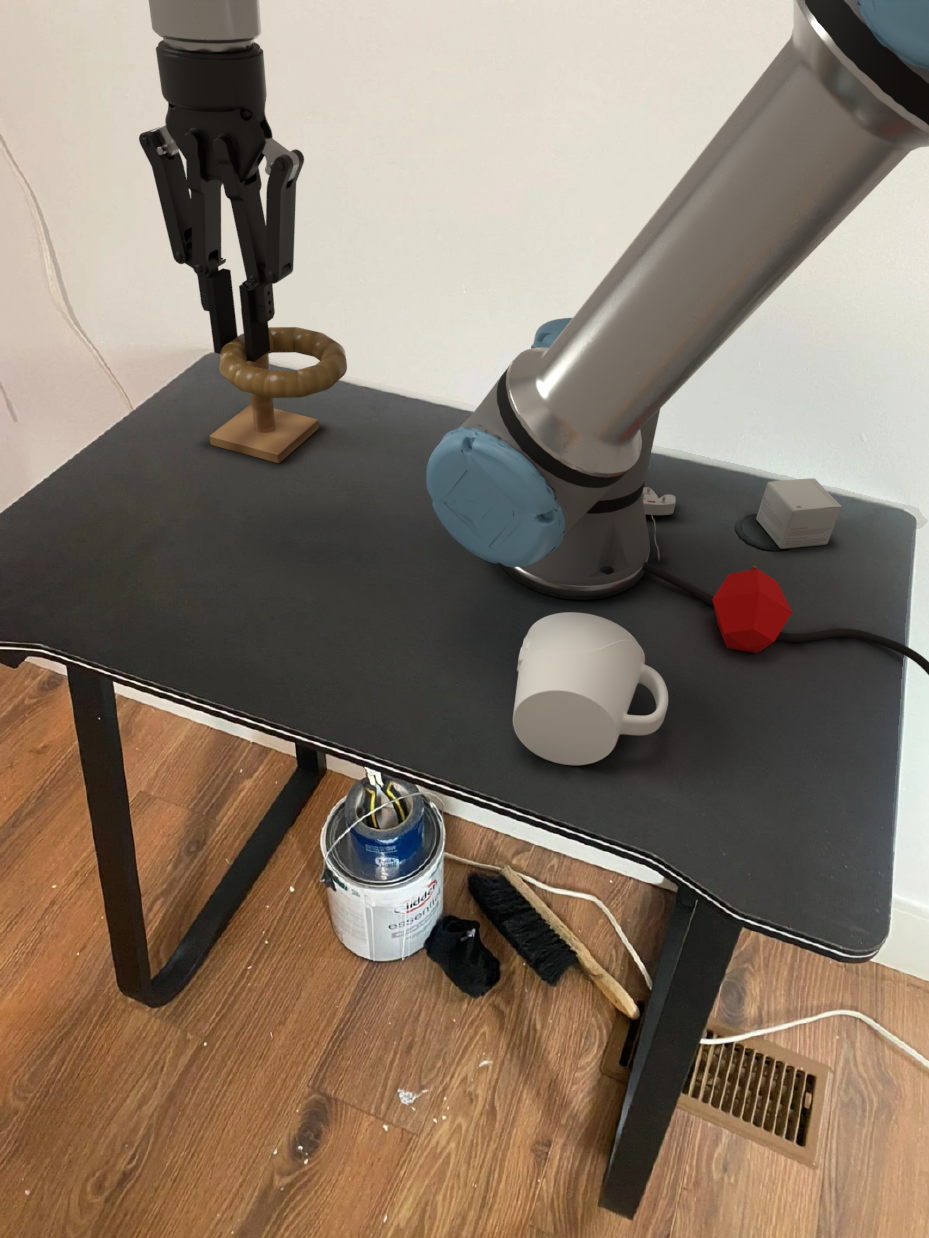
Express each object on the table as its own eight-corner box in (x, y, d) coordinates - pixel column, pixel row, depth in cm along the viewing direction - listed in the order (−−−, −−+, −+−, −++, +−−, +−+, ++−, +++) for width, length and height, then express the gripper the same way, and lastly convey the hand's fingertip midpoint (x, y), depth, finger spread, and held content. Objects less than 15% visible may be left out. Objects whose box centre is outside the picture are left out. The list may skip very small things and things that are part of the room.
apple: (793, 631, 76) (797, 551, 80) (708, 625, 78) (716, 548, 82) (787, 669, 82) (791, 593, 86) (709, 663, 84) (716, 589, 88)
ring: (367, 361, 83) (366, 338, 82) (310, 413, 75) (309, 389, 74) (262, 337, 86) (260, 314, 84) (196, 384, 78) (193, 360, 77)
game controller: (660, 494, 101) (665, 473, 100) (708, 556, 93) (714, 535, 91) (613, 499, 100) (617, 479, 98) (657, 563, 92) (662, 541, 90)
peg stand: (319, 428, 109) (311, 302, 99) (279, 463, 102) (266, 332, 92) (253, 411, 111) (239, 286, 101) (210, 445, 105) (190, 315, 95)
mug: (498, 750, 72) (506, 677, 67) (522, 671, 79) (531, 599, 74) (651, 785, 70) (672, 713, 65) (662, 701, 77) (681, 629, 72)
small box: (829, 545, 95) (844, 505, 92) (779, 550, 94) (792, 510, 91) (801, 514, 100) (815, 475, 96) (753, 519, 98) (765, 480, 95)
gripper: (331, 46, 66) (341, 353, 82) (148, 20, 70) (190, 318, 85) (279, 63, 61) (300, 388, 76) (83, 34, 65) (141, 349, 80)
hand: (242, 351), depth 81 cm, fingers closed on ring, 2 cm apart
